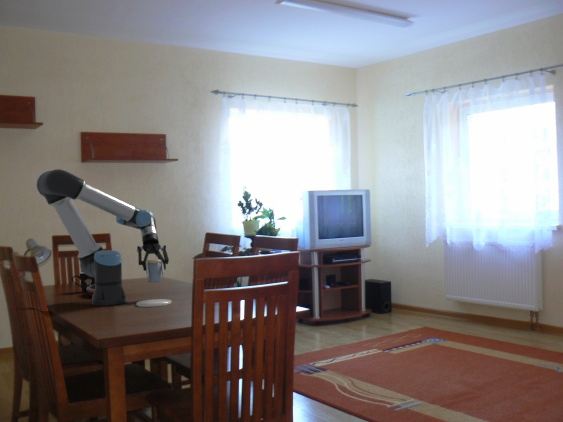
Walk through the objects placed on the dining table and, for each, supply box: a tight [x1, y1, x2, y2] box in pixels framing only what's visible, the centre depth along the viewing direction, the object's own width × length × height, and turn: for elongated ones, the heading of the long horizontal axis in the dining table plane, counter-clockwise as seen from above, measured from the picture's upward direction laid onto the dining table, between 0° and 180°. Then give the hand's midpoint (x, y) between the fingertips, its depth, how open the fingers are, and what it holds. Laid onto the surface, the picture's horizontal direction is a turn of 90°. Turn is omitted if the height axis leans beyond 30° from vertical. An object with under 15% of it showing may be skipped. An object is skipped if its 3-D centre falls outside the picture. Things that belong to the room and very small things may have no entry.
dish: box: [86, 284, 95, 297], centre depth 302 cm, size 16×31×5 cm, turn 17°
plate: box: [135, 298, 172, 308], centre depth 265 cm, size 15×15×1 cm
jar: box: [146, 259, 162, 284], centre depth 280 cm, size 6×6×10 cm
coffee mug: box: [71, 271, 95, 293], centre depth 316 cm, size 12×9×10 cm
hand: (155, 274), depth 276 cm, fingers closed on jar, 6 cm apart
